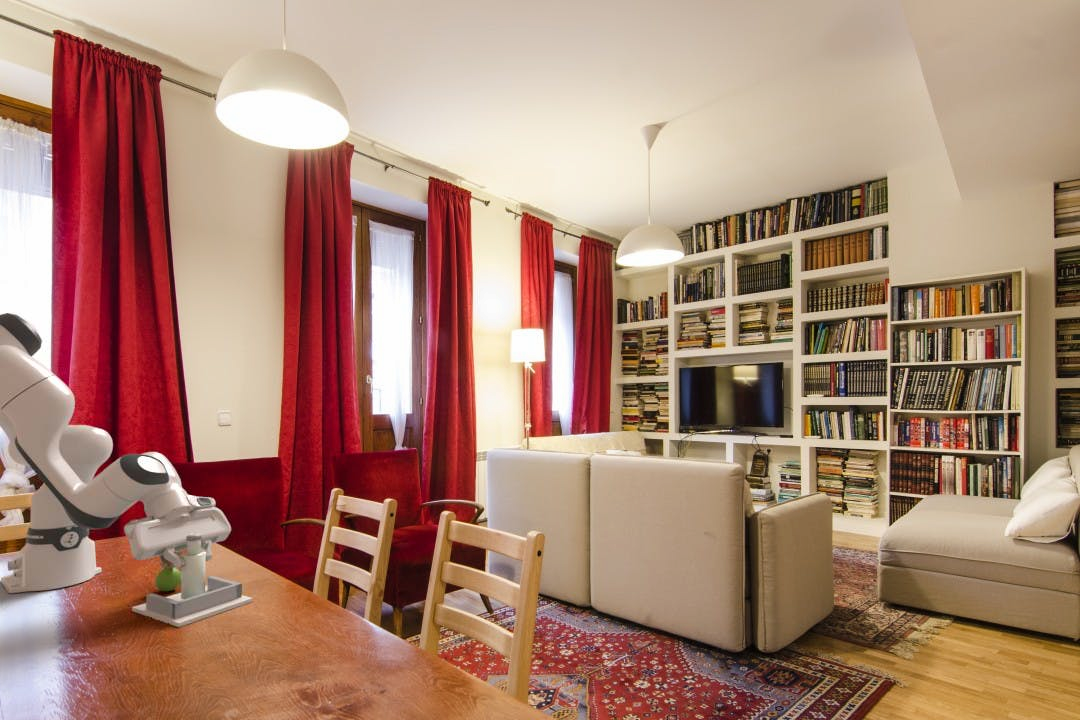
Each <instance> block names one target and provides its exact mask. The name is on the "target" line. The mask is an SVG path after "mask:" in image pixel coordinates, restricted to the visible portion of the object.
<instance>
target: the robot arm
mask: <svg viewBox="0 0 1080 720" xmlns="http://www.w3.org/2000/svg"><path fill="white" fill-rule="evenodd" d="M42 342H43V339H42V338H41V335H40V333H39V331H38V330H37V328H36V327H35V326H34V325H33V324H32V323H31V322H30V321H28V320H26V319H24V318H23V317H21V316H19V315H17V314H14V313H9V312H6V313H2V314H0V428H1V429H2V430H3V432H4V434H5V435H6V436H7V438H8V440H9V443H8V447H7V449H8V450H7V451H8V453H9V456H10V459H12V460H13V462H15V463H17V464H19V465H23V466H25V467H29V468H31V469H32V470H33V472H34V473H35V474H36V475H37V477H38V478H39V479H40V480H41V481H42V482H43V484H42V485H41V487H40V488H38V489H37V490H35V491H34V492H33V494H32V495H31V498H30V526H29V527H28V528H27V533H26V535H25V536H26V537H25V545H24V546H23V547H22V548H20V549H21V550H19V552H18V553H16V555H15V556H14V558H13V560H12V559H11V560H9V561H8V562H7V571H9V572H11V571H12V573H9V574H6V575H3V576H2V577H0V583H1V584H2V586H3V587H4V588H5V589H6V591H7V593H9V594H16V593H25V592H36V591H49V590H54V589H55V590H56V589H61V588H65V587H70V586H74V585H78V584H80V583H81V584H82V583H84V582H86V581H89V580H91V579H92V578H93V577H95V576H96V575H97V574H100V573H102V567H100V566H97V561H96V560H97V559H96V544H95V541H94V540H93V539H91V538H89V535H90V530H101V529H106V528H110V526H112V525H113V524H114V523H115V521H117V520H118V519H119V518H120V517H121V516H122V514H124V513H125V512H126V511H127V510H129V509H130V508H131V507H132V506H133V505H135V504H136V503H137V502H142V504H143V506H144V508H143V509H144V512H145V514H146V517H143V518H140V519H132V520H130V521H129V522H127V523H126V524H125V525H124V526H123V531H124V534H125V536H126V538H127V539H128V543H129V548H130V551H131V554H132V557H133V558H134V559H135V560H137V561H144V560H146V559H147V560H148V559H151V558H152V559H153V558H157V557H160V556H161V555H163V556H164V558H165V559H166V560H168V561H170V562H171V563H173V564H174V566H175V567H174V568H176V569H178V570H179V569H181V568H182V567H184V566H185V565H186V561H185V560H184V558H183V557H182V556H181V557H179V556H177V555H176V554H175V553H174V552H178V551H182V552H183V551H185V550H186V551H187V541H186V536H188V535H192V534H202V539H201V549H202V550H204V552H206V562H209V561H211V560H212V559H213V558H214V557H213V553H212V551H211V550H212V549H211V548H212V544H216V543H220V542H223V541H226V539H227V538H228V537H229V535H230V533H231V531H232V527H231V524H230V522H229V521H228V519H227V517H226V515H225V514H224V512H223V511H222V510H221V508H220V509H219V508H218V507H216V504H217V503H216V500H215V499H214V498H213V497H206V496H205V497H204V496H196V495H191V494H188V493H187V490H185V489H184V488H183V487H182V486H183V485H182V481H181V480H182V479H181V478H180V475H179V474H178V472H177V470H176V468H175V467H174V466H173V464H172V463H171V461H169V459H168V457H166V456H165V455H164V454H162V453H159V452H158V451H148V452H143V453H127V454H124V455H122V456H121V457H119V458H117V459H116V460H115V461H114V462H112V463H111V464H109V465H108V466H107V467H106V468H104V469H103V471H101V472H100V473H99V474H97V475H96V476H95V474H96V472H97V471H98V469H99V468H100V467H101V466H102V465H103V464H104V463H105V462H106V461H108V459H109V458H110V457H111V454H112V452H113V447H114V443H113V439H112V438H113V437H111V435H110V433H109V432H108V431H106V430H104V429H102V428H99V427H95V426H91V425H87V424H69V423H70V421H71V419H72V418H73V415H74V412H75V408H76V407H75V405H76V400H75V395H74V393H73V391H72V390H71V389H70V388H69V386H67V384H66V383H65V382H64V381H63V380H61V378H59V377H58V376H57V375H56V374H55V373H53V371H51V370H50V369H49V368H48V367H46V366H45V365H44V364H43V363H42V362H40V361H39V360H37V359H36V358H35V357H33V356H34V355H35V354H36V353H37V352H38V351H39V350H40V349H41V347H42Z"/></svg>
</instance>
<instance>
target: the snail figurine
mask: <svg viewBox="0 0 1080 720" xmlns="http://www.w3.org/2000/svg"><path fill="white" fill-rule="evenodd" d="M174 553H175V554H176V555H177V556H179V557H182V555H183V550H182V551H178V552H174ZM159 559H160V562H159V565H160V567H161V568H163V569H161V570H160V571H159V572H158V573H157V574H156V576H155V580H154V585H155V587H156V588H157V589H158V590H159V591H162V592H165V593H166V592H171V591H173V590H175V589H177V588H178V587H179V586H181V570H179V569H176V568H175V566H174V564H173V563H171V562H170V561H168V560H166V559H165V558H164V556H163V555H161V556H159Z"/></svg>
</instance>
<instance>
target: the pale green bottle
mask: <svg viewBox="0 0 1080 720" xmlns="http://www.w3.org/2000/svg"><path fill="white" fill-rule="evenodd" d="M201 539H202V534H192V535H188V536H186V541H187V549H186V552H185V553H182V556H181V557H183V558H184V560H185V561H186V565H185V566H184V567H182V568H180V569H181V570H180V572H181V583H180V593H181V599H187V598H191V597H194V596H197V595H200V594H203V593H205V585H206V572H207V571H206V570H207V569H206V567H207V566H206V562H207V561H206V552H204V551H205V550H204V551H203V550H201V549H202V548H201Z"/></svg>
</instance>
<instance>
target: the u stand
mask: <svg viewBox="0 0 1080 720" xmlns="http://www.w3.org/2000/svg"><path fill="white" fill-rule="evenodd" d="M242 588H243V583H241V582H239V581H233V580H230V579H226V578H222V577H218V576H215V575H212V576H211V575H210V576H209V577H207V584H205V593H203V594H200V595H197V596H194V597H191V598H187V599H181V592H178V593H176V594H171V595H169V596H166V597H165V596H163V595H159V594H156V593H153V592H152V593H149V594H145V595H146V598H145V599H146V602H145V603H142V604H139V605H135V606H132V607H131V608H132V609H131V611H132V612H134V613H137V614H140V615H142V616H145V617H148V616H149V617H148V618H151V617H152V619H154V620H156V621H159V620H160V621H159V622H162V621H163V622H162V623H165V624H168V623H169V625H172V626H174V627H176V628H181V627H184V626H187V625H189V624H191V623H195V622H198V621H201V620H204V619H207V618H210V617H212V616H215V615H218V614H221V613H224V612H227V611H230V610H232V609H236V608H238V607H242V606H244V605H246V604H247V605H248V604H250V603H253V602H254V601H253V599H254V598H253V597H250V596H246V595H242V594H243V589H242Z"/></svg>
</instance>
